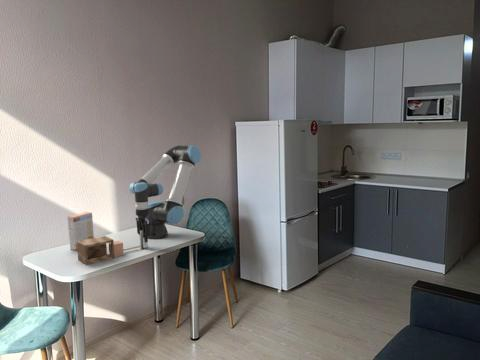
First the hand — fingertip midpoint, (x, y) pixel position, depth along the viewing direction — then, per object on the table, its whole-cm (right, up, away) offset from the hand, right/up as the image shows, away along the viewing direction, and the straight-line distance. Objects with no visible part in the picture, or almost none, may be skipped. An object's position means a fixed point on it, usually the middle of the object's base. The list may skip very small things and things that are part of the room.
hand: (144, 246), depth 255 cm
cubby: (-22, -4, -19) cm, 30 cm away
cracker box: (-39, -1, +5) cm, 39 cm away
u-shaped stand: (-7, -2, -6) cm, 10 cm away
